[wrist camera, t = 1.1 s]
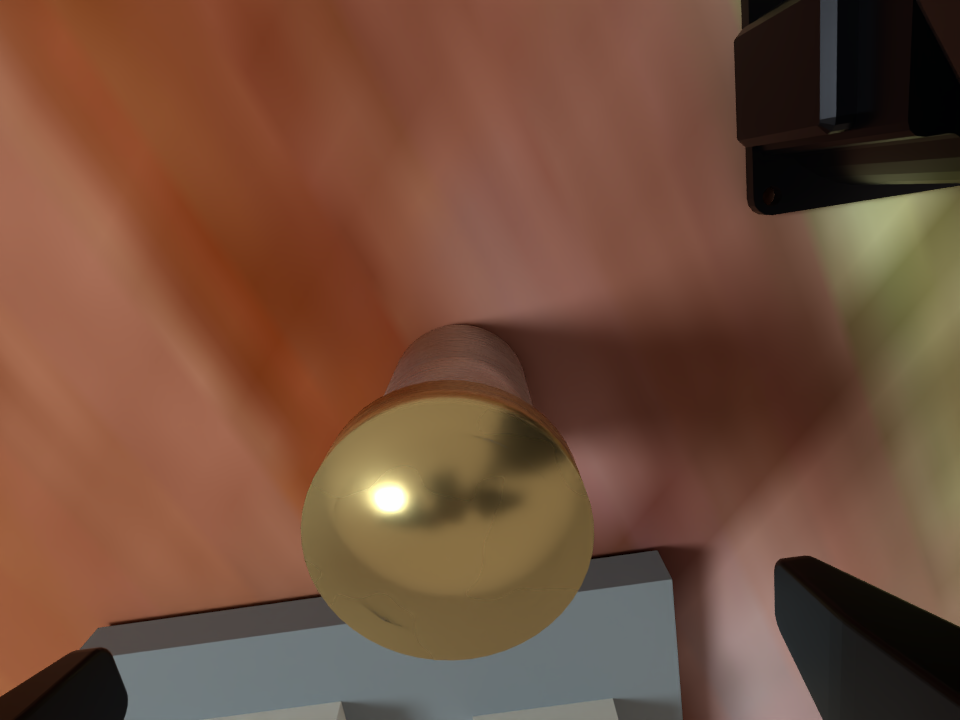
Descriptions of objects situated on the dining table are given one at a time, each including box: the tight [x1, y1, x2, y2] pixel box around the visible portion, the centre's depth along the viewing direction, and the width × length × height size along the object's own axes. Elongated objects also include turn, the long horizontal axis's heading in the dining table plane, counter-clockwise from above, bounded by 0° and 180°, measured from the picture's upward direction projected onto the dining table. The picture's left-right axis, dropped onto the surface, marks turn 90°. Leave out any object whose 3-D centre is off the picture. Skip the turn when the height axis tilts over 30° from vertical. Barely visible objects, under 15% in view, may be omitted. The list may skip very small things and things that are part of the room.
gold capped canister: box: [301, 325, 594, 661], centre depth 14 cm, size 5×5×8 cm
